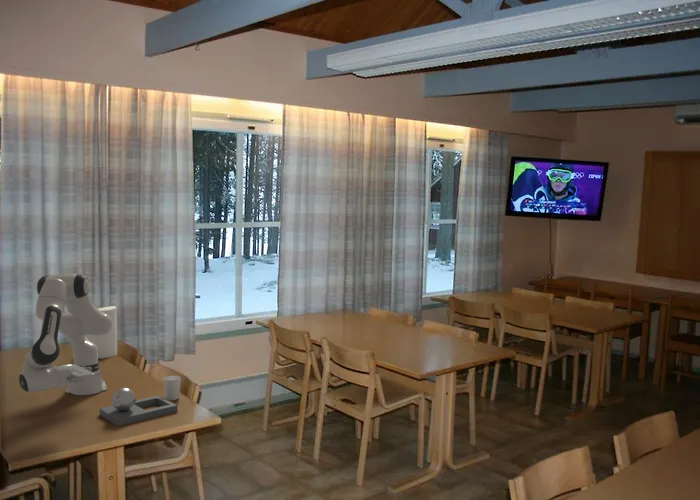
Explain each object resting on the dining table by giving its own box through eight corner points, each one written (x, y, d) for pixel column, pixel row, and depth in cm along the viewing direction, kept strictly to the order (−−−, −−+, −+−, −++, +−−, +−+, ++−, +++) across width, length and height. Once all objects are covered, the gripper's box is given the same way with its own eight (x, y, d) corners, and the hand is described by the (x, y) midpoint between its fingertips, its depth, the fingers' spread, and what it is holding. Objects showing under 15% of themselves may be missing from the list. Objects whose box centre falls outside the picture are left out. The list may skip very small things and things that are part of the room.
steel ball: (113, 407, 299) (112, 385, 298) (136, 405, 301) (136, 384, 300) (110, 414, 289) (110, 392, 288) (135, 413, 291) (134, 391, 290)
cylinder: (123, 353, 401) (122, 307, 398) (98, 359, 386) (98, 311, 383) (104, 349, 410) (103, 304, 407) (79, 355, 395) (78, 308, 392)
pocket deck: (117, 426, 284) (117, 419, 284) (99, 415, 297) (99, 408, 297) (177, 411, 303) (177, 405, 303) (158, 401, 316) (157, 395, 316)
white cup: (160, 397, 322) (160, 377, 321) (176, 394, 327) (176, 374, 326) (168, 401, 316) (167, 381, 315) (183, 398, 321) (183, 378, 320)
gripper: (73, 373, 267) (106, 368, 277) (53, 364, 282) (86, 359, 292) (73, 389, 268) (106, 383, 277) (53, 378, 282) (86, 373, 292)
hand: (96, 371), depth 285 cm, fingers open, 8 cm apart
